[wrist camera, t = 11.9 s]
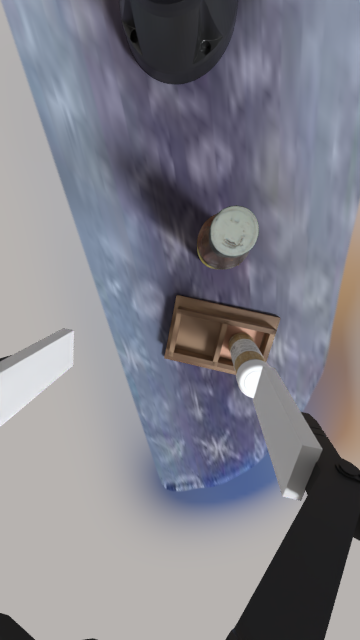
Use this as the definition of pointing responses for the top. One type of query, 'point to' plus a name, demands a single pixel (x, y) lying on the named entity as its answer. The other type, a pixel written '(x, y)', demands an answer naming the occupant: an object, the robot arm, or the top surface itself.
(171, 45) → the robot arm
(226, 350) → the slot rack
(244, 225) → the sauce bottle
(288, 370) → the top surface
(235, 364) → the sprinkles bottle
